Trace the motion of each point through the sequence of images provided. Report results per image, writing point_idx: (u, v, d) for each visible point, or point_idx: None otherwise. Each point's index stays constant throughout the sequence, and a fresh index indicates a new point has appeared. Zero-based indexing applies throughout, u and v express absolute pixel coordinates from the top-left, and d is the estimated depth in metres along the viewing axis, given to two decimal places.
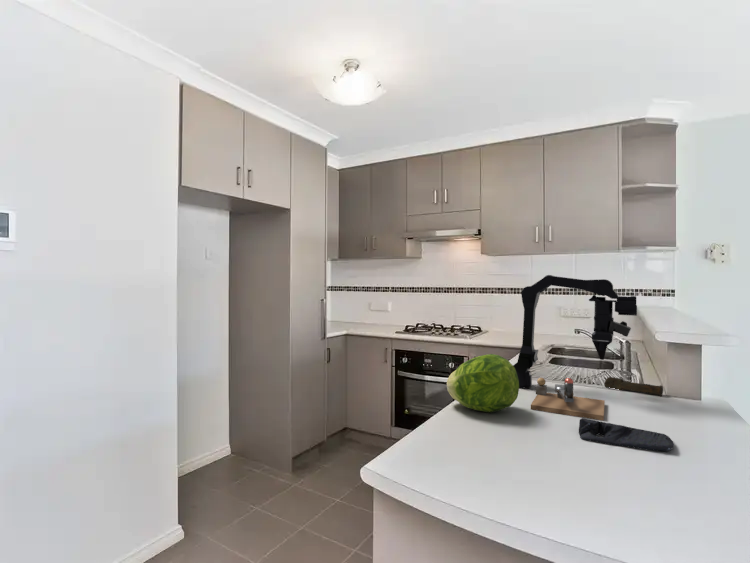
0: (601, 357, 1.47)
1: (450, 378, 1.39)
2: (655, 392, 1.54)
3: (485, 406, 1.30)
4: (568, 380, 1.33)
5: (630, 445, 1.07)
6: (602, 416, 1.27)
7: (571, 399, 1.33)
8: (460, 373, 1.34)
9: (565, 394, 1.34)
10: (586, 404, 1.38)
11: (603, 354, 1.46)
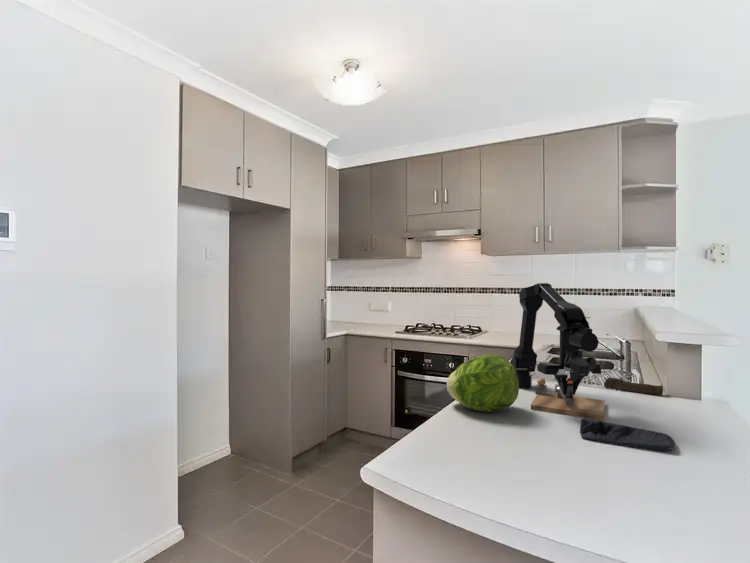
0: (563, 392, 1.34)
1: (450, 378, 1.39)
2: (655, 392, 1.54)
3: (485, 407, 1.30)
4: (568, 380, 1.33)
5: (631, 445, 1.07)
6: (602, 416, 1.27)
7: (571, 399, 1.33)
8: (460, 373, 1.34)
9: None
10: (586, 404, 1.38)
11: (562, 389, 1.33)
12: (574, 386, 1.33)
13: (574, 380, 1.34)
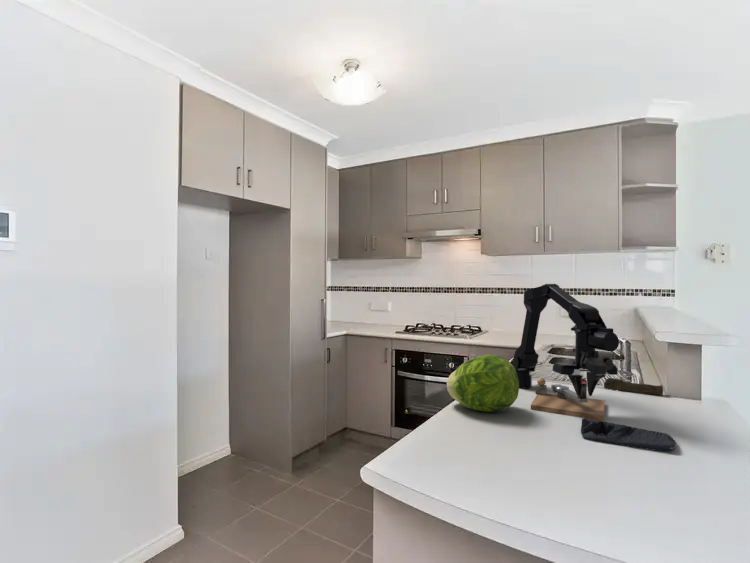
0: (577, 392, 1.33)
1: (450, 378, 1.39)
2: (656, 392, 1.54)
3: (485, 407, 1.30)
4: (583, 380, 1.32)
5: (632, 444, 1.07)
6: (602, 416, 1.27)
7: (585, 399, 1.33)
8: (460, 373, 1.34)
9: (580, 395, 1.33)
10: (586, 404, 1.38)
11: (577, 389, 1.32)
12: (591, 387, 1.33)
13: (591, 381, 1.33)
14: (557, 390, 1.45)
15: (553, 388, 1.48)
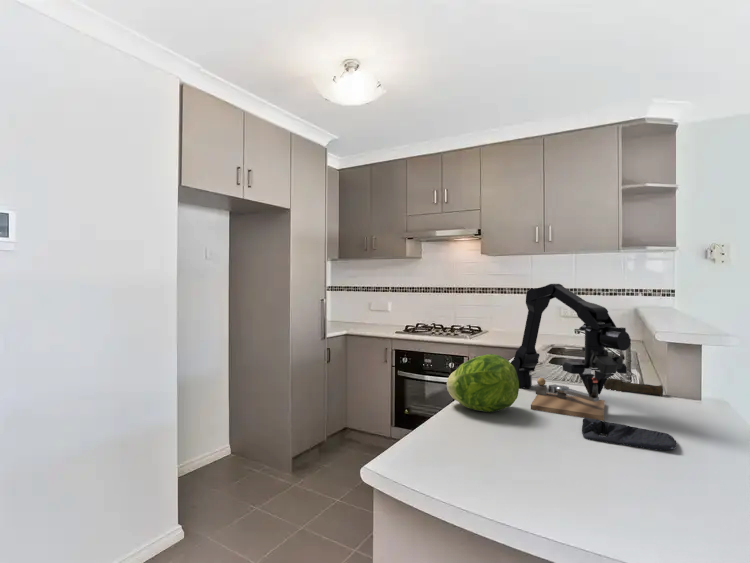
0: (588, 391, 1.35)
1: (450, 378, 1.39)
2: (656, 392, 1.54)
3: (485, 407, 1.30)
4: (595, 380, 1.34)
5: (633, 444, 1.08)
6: (602, 416, 1.27)
7: (597, 398, 1.34)
8: (460, 373, 1.34)
9: (593, 394, 1.34)
10: (586, 404, 1.38)
11: (588, 388, 1.34)
12: (599, 385, 1.34)
13: (599, 379, 1.34)
14: (559, 391, 1.44)
15: (552, 388, 1.47)
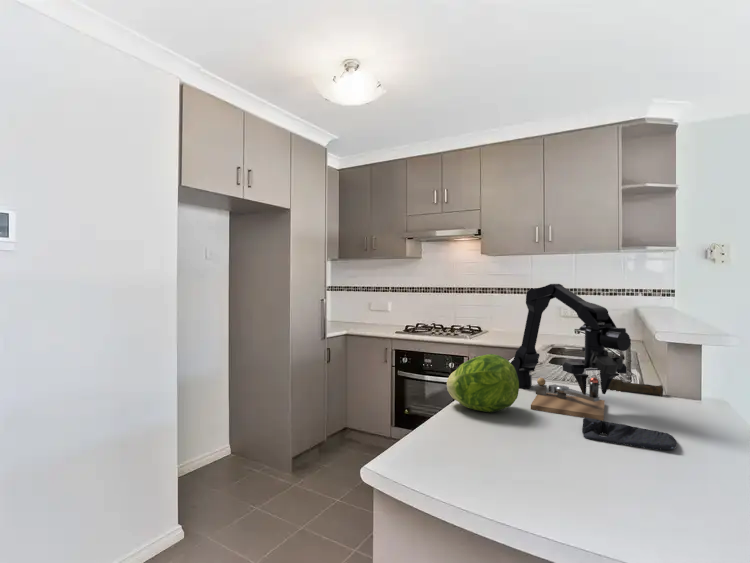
0: (583, 391, 1.35)
1: (450, 378, 1.39)
2: (656, 392, 1.54)
3: (485, 407, 1.30)
4: (596, 380, 1.34)
5: (633, 444, 1.08)
6: (602, 416, 1.27)
7: (598, 398, 1.34)
8: (460, 373, 1.34)
9: (593, 394, 1.34)
10: (586, 404, 1.38)
11: (583, 388, 1.34)
12: (605, 385, 1.34)
13: (605, 379, 1.35)
14: (559, 391, 1.44)
15: (552, 388, 1.47)
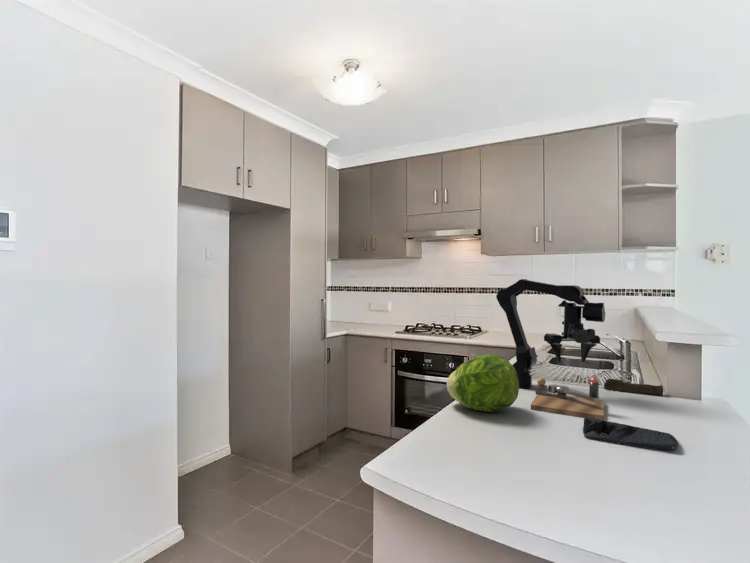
0: (558, 359, 1.54)
1: (450, 378, 1.39)
2: (656, 392, 1.54)
3: (485, 407, 1.30)
4: (596, 380, 1.34)
5: (634, 444, 1.08)
6: (602, 416, 1.27)
7: (598, 398, 1.34)
8: (460, 373, 1.34)
9: (593, 394, 1.34)
10: (586, 404, 1.38)
11: (557, 356, 1.53)
12: (584, 354, 1.54)
13: (584, 349, 1.54)
14: (559, 391, 1.44)
15: (552, 388, 1.47)
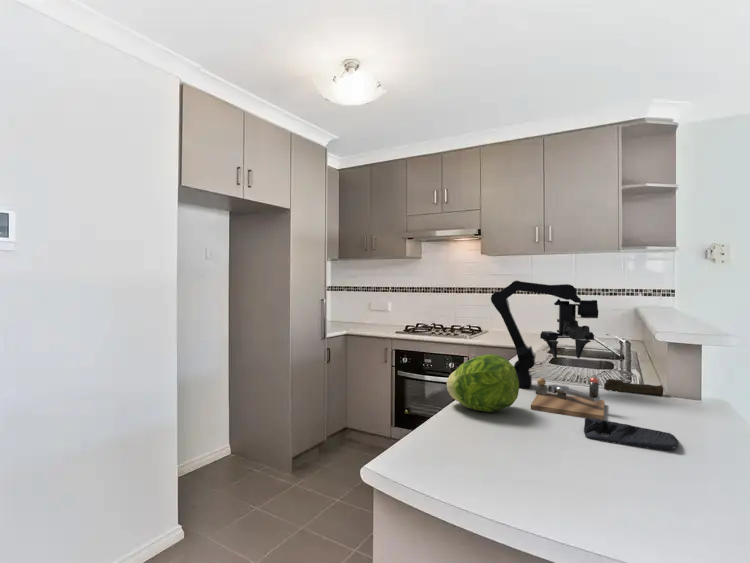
0: (554, 356, 1.59)
1: (450, 378, 1.39)
2: (656, 392, 1.54)
3: (485, 407, 1.30)
4: (596, 380, 1.34)
5: (635, 444, 1.08)
6: (602, 416, 1.27)
7: (598, 398, 1.34)
8: (460, 373, 1.34)
9: (593, 394, 1.34)
10: (586, 404, 1.38)
11: (554, 353, 1.58)
12: (579, 351, 1.59)
13: (579, 346, 1.59)
14: (559, 391, 1.44)
15: (552, 388, 1.47)
